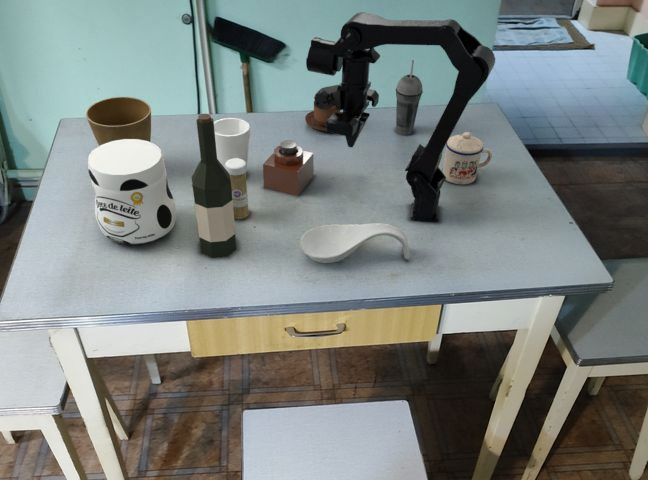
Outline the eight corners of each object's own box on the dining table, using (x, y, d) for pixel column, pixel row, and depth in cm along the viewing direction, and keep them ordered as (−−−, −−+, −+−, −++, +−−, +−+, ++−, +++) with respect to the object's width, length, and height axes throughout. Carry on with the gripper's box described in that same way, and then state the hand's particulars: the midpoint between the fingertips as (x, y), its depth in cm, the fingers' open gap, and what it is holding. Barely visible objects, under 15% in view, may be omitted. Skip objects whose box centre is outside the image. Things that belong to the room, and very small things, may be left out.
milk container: (101, 257, 143) (82, 182, 131) (98, 213, 155) (80, 141, 142) (183, 245, 147) (172, 172, 134) (174, 203, 159) (163, 132, 146)
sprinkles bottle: (231, 221, 154) (227, 169, 144) (227, 210, 157) (223, 158, 147) (251, 218, 155) (248, 166, 145) (246, 208, 158) (243, 156, 148)
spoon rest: (300, 272, 141) (300, 244, 136) (299, 239, 150) (299, 212, 144) (412, 270, 142) (416, 243, 137) (404, 238, 151) (408, 211, 146)
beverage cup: (417, 125, 190) (426, 54, 176) (417, 138, 185) (427, 65, 170) (391, 124, 190) (399, 52, 176) (391, 136, 185) (398, 63, 171)
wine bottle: (231, 260, 143) (218, 129, 122) (193, 255, 144) (175, 124, 123) (242, 238, 149) (232, 109, 128) (206, 233, 150) (190, 104, 129)
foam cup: (209, 182, 166) (204, 133, 157) (222, 164, 172) (217, 115, 163) (245, 187, 164) (242, 138, 155) (257, 169, 171) (254, 120, 162)
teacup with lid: (445, 186, 167) (453, 143, 159) (437, 167, 173) (444, 125, 165) (492, 184, 168) (502, 141, 160) (482, 166, 174) (491, 123, 166)
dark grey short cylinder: (299, 150, 162) (299, 142, 160) (292, 158, 159) (292, 149, 158) (284, 147, 163) (284, 138, 161) (277, 154, 160) (277, 146, 159)
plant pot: (89, 169, 169) (74, 108, 158) (141, 150, 176) (130, 91, 165) (119, 193, 161) (105, 131, 150) (172, 173, 168) (162, 112, 157)
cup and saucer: (338, 112, 194) (339, 92, 190) (354, 131, 186) (355, 110, 182) (299, 118, 191) (299, 97, 187) (314, 137, 183) (314, 116, 179)
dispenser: (313, 176, 169) (313, 145, 163) (297, 196, 162) (297, 164, 156) (280, 169, 171) (280, 138, 165) (263, 188, 164) (262, 156, 158)
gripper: (335, 56, 151) (332, 122, 162) (303, 89, 138) (302, 157, 149) (382, 65, 148) (376, 131, 159) (353, 99, 136) (349, 168, 147)
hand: (350, 146), depth 154 cm, fingers closed
